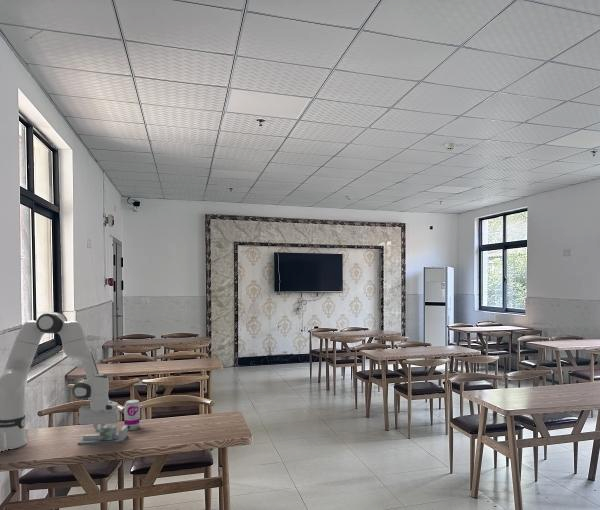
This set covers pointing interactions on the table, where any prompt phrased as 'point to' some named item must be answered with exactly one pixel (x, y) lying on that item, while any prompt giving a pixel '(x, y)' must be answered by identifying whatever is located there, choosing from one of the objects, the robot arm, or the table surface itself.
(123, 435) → the grey green u-shaped bracket
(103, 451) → the table surface
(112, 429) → the keeper
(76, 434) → the table surface
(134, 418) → the supplement can
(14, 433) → the robot arm
